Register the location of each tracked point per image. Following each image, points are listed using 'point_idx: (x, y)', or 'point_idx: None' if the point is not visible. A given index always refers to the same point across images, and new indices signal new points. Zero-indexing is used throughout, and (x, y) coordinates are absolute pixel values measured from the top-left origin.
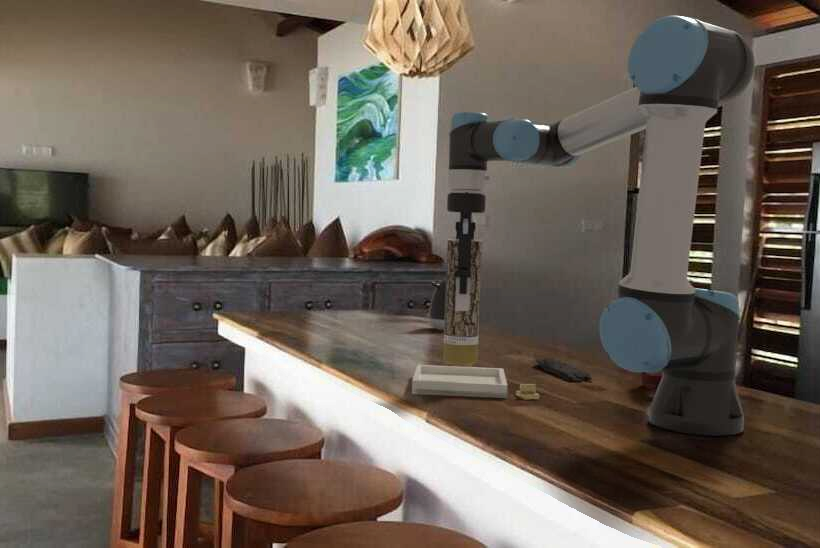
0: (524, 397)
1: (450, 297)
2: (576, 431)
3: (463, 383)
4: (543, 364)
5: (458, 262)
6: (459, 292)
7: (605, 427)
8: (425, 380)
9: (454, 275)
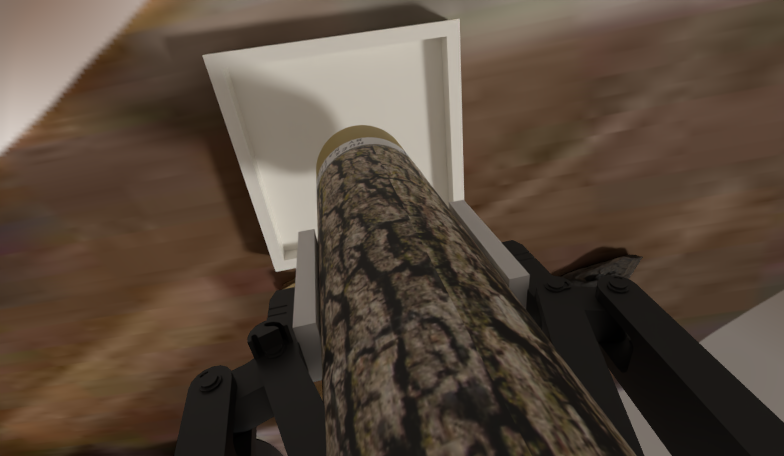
0: (283, 286)
1: (331, 229)
2: (78, 382)
3: (248, 188)
4: (582, 274)
5: (179, 446)
6: (273, 296)
7: (138, 405)
8: (229, 91)
9: (253, 335)
